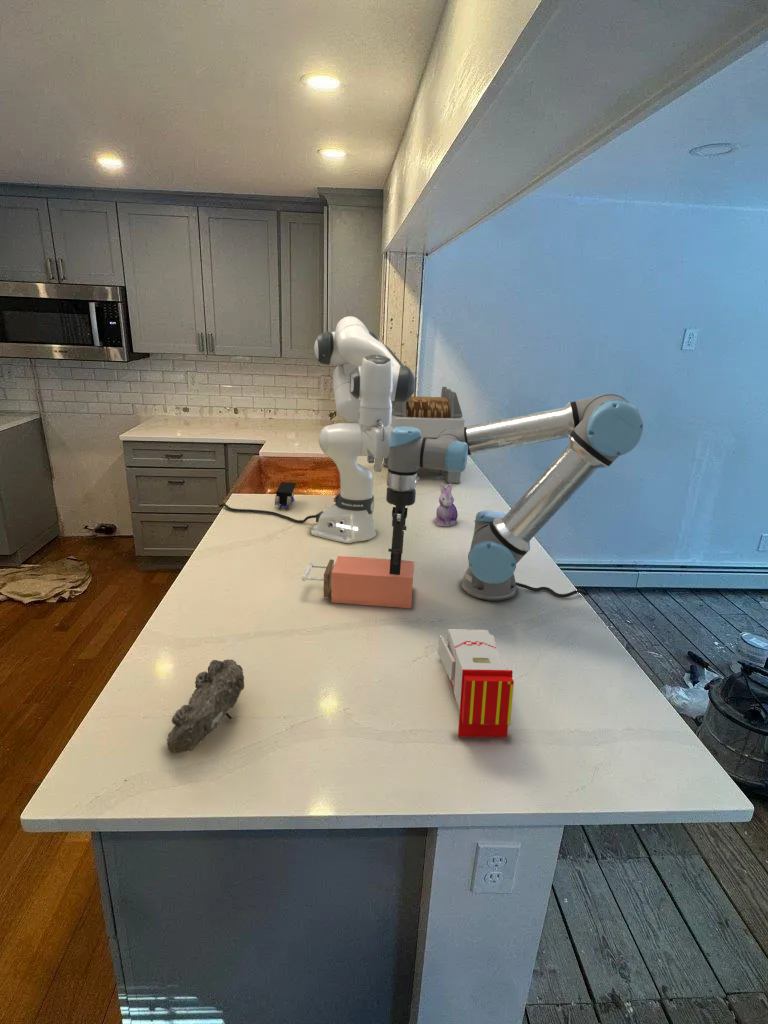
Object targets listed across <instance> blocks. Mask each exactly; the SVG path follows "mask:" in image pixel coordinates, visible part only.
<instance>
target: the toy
mask: <svg viewBox="0 0 768 1024" xmlns="http://www.w3.org/2000/svg"><path fill="white" fill-rule="evenodd" d="M446 640H447V643H446V641H445V639H444V636H443V635H442V634H439V637H438V646H437V656H438V657H439V659H440V661H441V663H442V666H443V668H444V670H445V672H446V674H447V677H448V679H449V681H450V684H451V687H452V690H453V693H454V697H455V701H456V705H457V708H458V711H459V714H458V715H459V716H458V730H457V731H458V732H457V737H458V738H508V731H509V726H510V725H511V717H512V707H513V697H514V696H513V695H514V684H515V680H514V679H513V673H514V671H513V670H512V669H508V667H507V665H506V662H505V661H504V659H503V658H502V655H501V653H500V651H499V649H498V647H497V643H496V639H495V637H494V635H493V634H491V632H490V631H489V629H467V628H466V629H465V628H463V629H461V628H460V629H459V628H448V630H447V639H446Z"/></svg>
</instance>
